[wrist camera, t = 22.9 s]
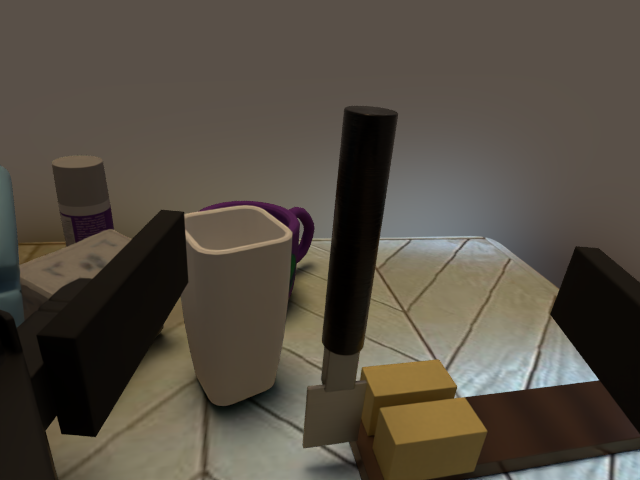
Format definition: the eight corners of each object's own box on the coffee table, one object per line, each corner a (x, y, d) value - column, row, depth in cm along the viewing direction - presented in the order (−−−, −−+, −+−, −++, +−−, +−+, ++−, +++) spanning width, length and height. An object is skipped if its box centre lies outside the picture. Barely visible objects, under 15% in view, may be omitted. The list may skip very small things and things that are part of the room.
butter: (429, 396, 36) (439, 358, 35) (474, 471, 30) (488, 431, 28) (355, 405, 35) (361, 366, 33) (386, 486, 29) (395, 444, 27)
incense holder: (92, 408, 34) (69, 298, 30) (22, 371, 37) (-9, 266, 33) (177, 339, 43) (170, 245, 38) (115, 313, 45) (100, 223, 41)
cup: (291, 392, 37) (301, 236, 31) (210, 427, 33) (202, 257, 27) (254, 344, 43) (256, 202, 36) (180, 369, 39) (167, 215, 32)
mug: (243, 343, 43) (243, 252, 38) (173, 298, 49) (166, 216, 44) (343, 279, 56) (352, 206, 51) (278, 250, 62) (281, 182, 57)
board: (649, 384, 42) (656, 372, 41) (712, 436, 37) (721, 423, 36) (343, 425, 35) (345, 411, 34) (367, 496, 29) (369, 482, 29)
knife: (352, 424, 32) (399, 107, 22) (362, 455, 30) (420, 116, 20) (299, 431, 31) (324, 104, 22) (306, 463, 29) (337, 113, 19)
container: (128, 281, 51) (112, 157, 45) (110, 303, 47) (89, 169, 41) (89, 278, 51) (67, 153, 45) (67, 300, 47) (39, 165, 41)
